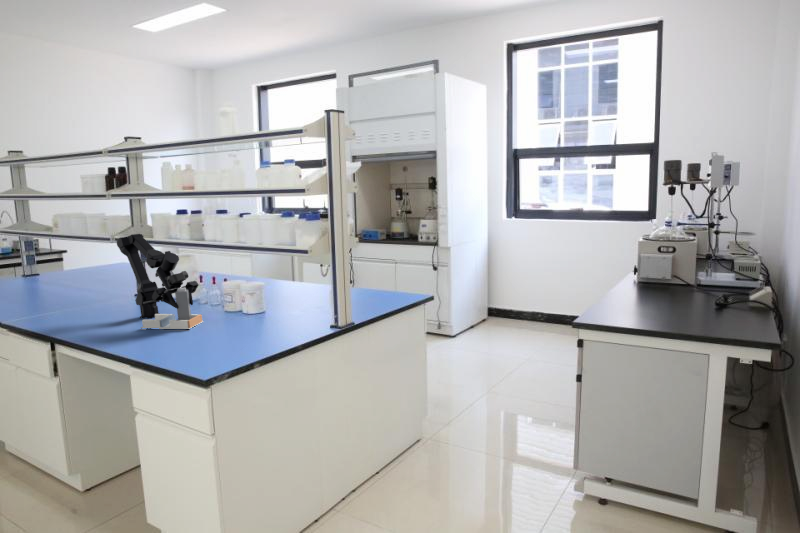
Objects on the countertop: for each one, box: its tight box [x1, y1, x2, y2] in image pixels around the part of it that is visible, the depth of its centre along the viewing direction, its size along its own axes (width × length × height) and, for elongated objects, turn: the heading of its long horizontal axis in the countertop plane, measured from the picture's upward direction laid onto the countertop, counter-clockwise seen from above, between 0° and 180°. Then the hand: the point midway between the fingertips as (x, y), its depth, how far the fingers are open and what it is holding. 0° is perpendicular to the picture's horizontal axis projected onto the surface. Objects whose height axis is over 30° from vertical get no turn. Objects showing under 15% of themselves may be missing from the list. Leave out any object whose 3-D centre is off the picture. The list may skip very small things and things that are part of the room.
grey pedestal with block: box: [174, 288, 192, 320], centre depth 222 cm, size 4×4×14 cm
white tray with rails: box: [140, 313, 204, 329], centre depth 224 cm, size 22×11×4 cm, turn 80°
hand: (185, 306), depth 221 cm, fingers closed on grey pedestal with block, 6 cm apart
